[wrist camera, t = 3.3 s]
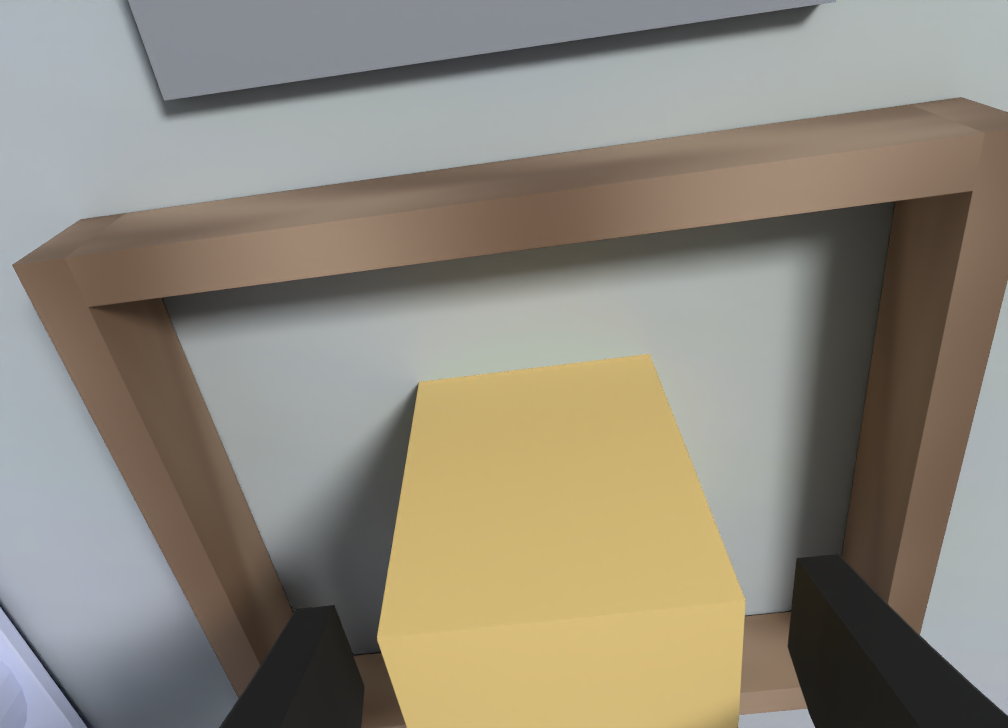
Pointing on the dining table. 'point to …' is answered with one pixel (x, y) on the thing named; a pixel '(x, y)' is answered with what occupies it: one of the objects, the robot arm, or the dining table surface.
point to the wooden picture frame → (535, 224)
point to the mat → (380, 33)
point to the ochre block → (558, 559)
